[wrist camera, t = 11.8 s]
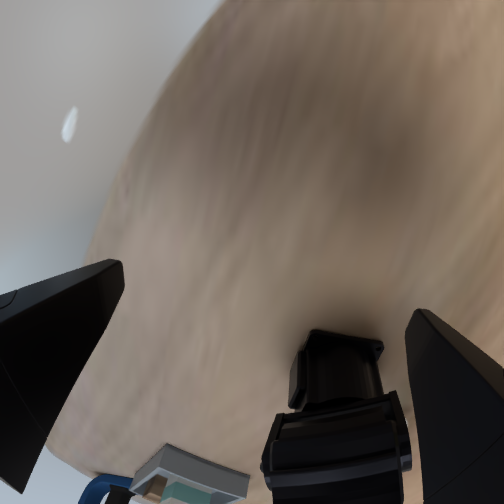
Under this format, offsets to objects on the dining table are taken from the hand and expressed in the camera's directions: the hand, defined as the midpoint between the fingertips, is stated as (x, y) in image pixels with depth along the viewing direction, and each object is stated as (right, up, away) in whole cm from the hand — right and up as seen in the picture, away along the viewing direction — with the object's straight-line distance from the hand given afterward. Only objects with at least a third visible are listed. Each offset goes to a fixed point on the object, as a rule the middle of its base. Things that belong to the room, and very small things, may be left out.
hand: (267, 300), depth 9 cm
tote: (-11, -35, +32) cm, 49 cm away
